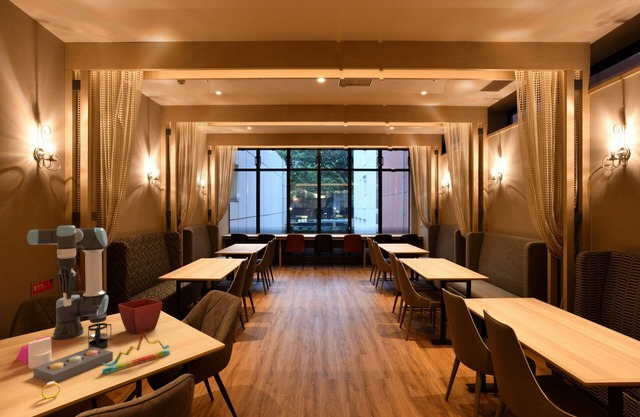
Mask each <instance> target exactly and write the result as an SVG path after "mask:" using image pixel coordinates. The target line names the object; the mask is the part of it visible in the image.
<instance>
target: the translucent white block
mask: <svg viewBox="0 0 640 417" xmlns="http://www.w3.org/2000/svg"><path fill="white" fill-rule="evenodd" d="M42 338H43V337H42ZM38 339H39V338H38ZM27 345H28V368H29V369H32V370H33V368H35V367H38V366H41V365H44V364H46V363H49V362H52V358H53V357H52V337H51V336H50V337H47V338H43V339H39V340H32V341H29V342H27Z"/></svg>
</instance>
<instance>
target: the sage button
mask: <svg viewBox="0 0 640 417" xmlns="http://www.w3.org/2000/svg"><path fill="white" fill-rule="evenodd" d="M80 360H81V356H74V357H71V358H69V362H70V363H74V362H77V361H80Z"/></svg>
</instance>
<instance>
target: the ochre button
mask: <svg viewBox="0 0 640 417" xmlns="http://www.w3.org/2000/svg"><path fill="white" fill-rule="evenodd" d="M61 367H64V366H63V363H62V362H59V363H54V364H52V365H50V369H51V370H56V369H58V368H61Z"/></svg>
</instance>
